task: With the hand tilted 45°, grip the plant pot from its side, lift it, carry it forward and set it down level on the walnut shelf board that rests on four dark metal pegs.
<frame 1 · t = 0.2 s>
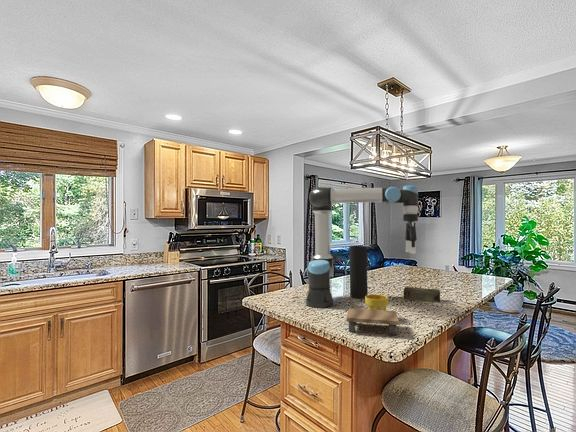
hand: (410, 252, 169), 27 cm above the worktop, tool pointing down, fingers open, 13 cm apart
shelf stand: (372, 328, 129), on the worktop
beverage carton: (422, 300, 176), on the worktop
vase: (358, 297, 185), on the worktop
plant pot: (376, 318, 144), on the worktop
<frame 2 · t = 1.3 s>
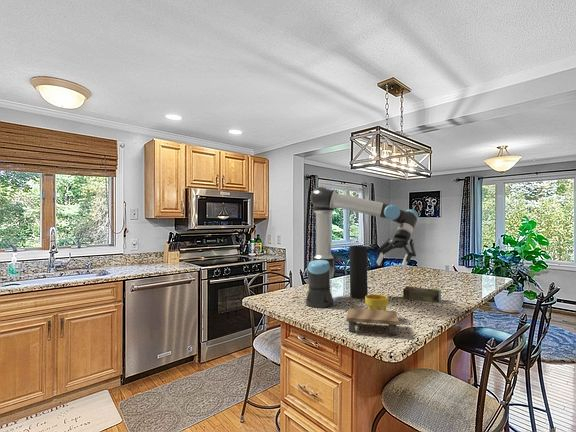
hand: (390, 265, 153), 23 cm above the worktop, tool tilted 45°, fingers open, 13 cm apart
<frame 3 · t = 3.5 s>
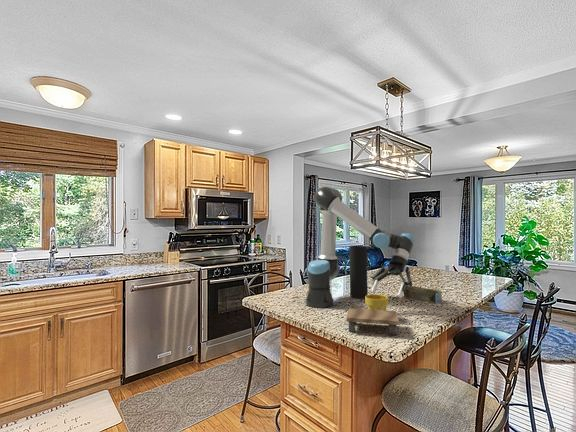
hand: (385, 294, 147), 10 cm above the worktop, tool tilted 45°, fingers open, 13 cm apart
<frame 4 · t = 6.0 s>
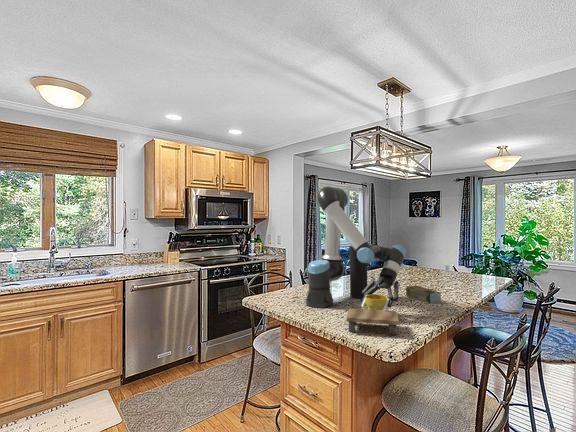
hand: (373, 310, 142), 4 cm above the worktop, tool tilted 45°, fingers closed on plant pot, 10 cm apart
plant pot: (376, 318, 144), on the worktop, touching gripper
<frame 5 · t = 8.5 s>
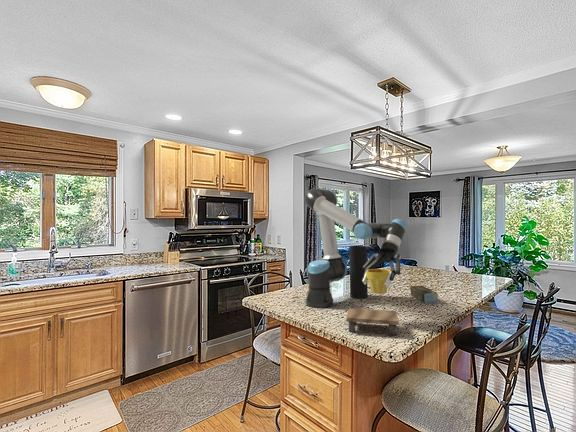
hand: (375, 284, 138), 17 cm above the worktop, tool tilted 45°, fingers closed on plant pot, 10 cm apart
plant pot: (378, 292, 140), point 13 cm above the worktop, touching gripper
when the fingers open (11 cm above the worktop, at t = 11.1 s): plant pot drops 1 cm, resting on shelf stand.
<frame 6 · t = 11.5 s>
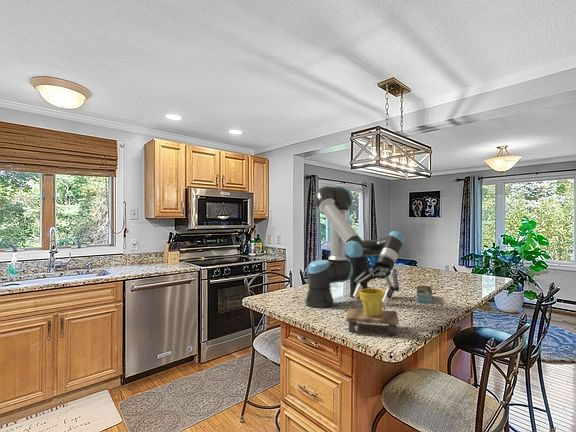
hand: (368, 300, 128), 12 cm above the worktop, tool tilted 45°, fingers open, 13 cm apart
plant pot: (372, 314, 129), point 6 cm above the worktop, touching shelf stand
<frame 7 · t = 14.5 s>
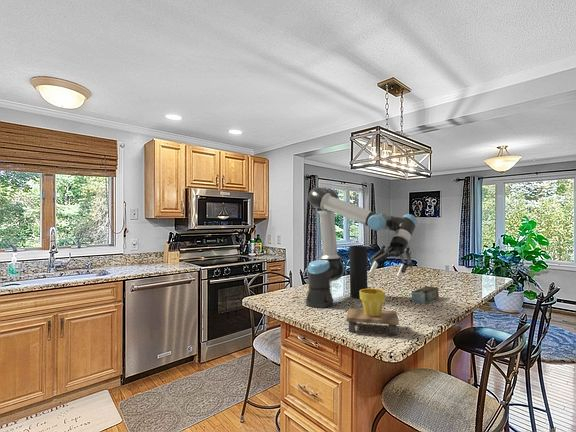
hand: (384, 275, 140), 20 cm above the worktop, tool tilted 45°, fingers open, 13 cm apart
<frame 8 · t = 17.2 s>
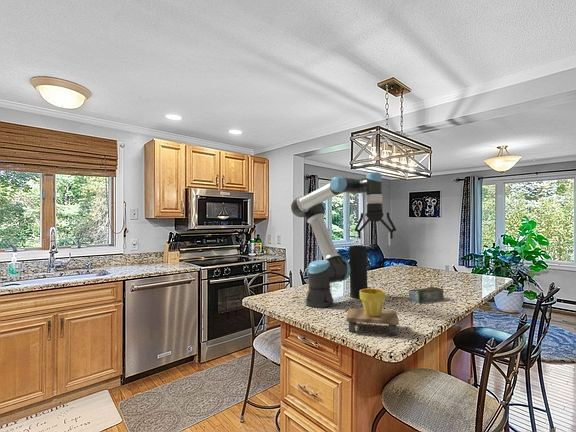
hand: (375, 245, 156), 33 cm above the worktop, tool pointing down, fingers open, 13 cm apart
at the end: plant pot inside the target area on the shelf stand (0.2 cm from its centre), point 5.8 cm above the shelf stand's base; plant pot tilted 0°; the gripper is holding nothing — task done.
